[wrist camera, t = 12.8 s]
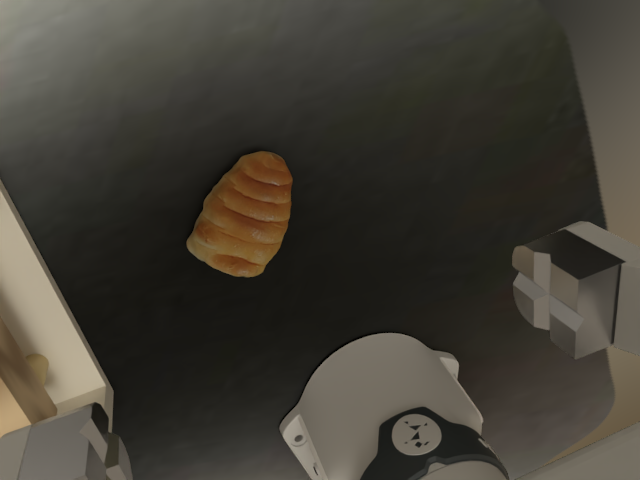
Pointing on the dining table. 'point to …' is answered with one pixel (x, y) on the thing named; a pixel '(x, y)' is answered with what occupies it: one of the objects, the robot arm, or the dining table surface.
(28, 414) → the shelf board
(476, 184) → the dining table surface
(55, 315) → the peg frame
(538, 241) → the robot arm
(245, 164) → the pastry
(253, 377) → the dining table surface
